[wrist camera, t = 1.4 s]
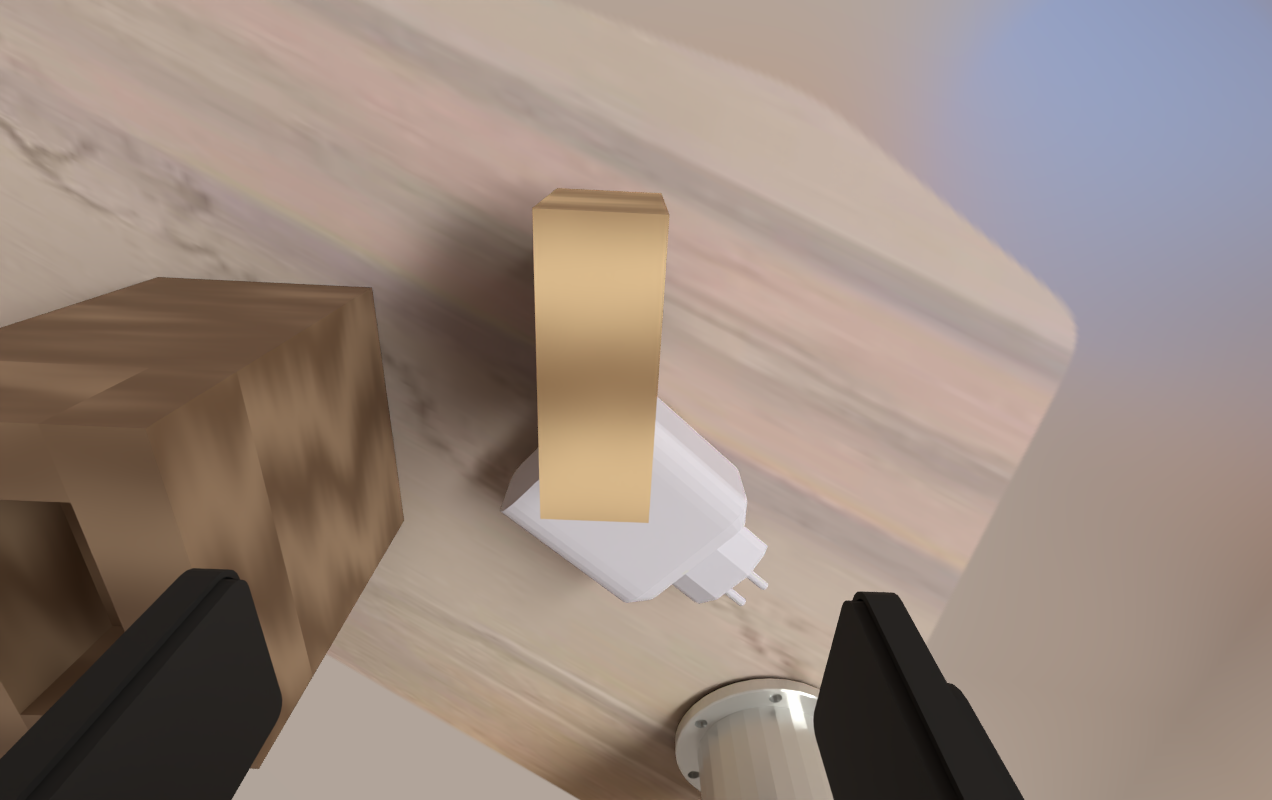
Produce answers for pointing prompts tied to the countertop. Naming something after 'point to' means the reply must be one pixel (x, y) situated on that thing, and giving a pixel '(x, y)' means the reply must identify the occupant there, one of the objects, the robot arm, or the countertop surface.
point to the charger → (658, 524)
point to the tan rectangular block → (598, 350)
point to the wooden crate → (188, 472)
